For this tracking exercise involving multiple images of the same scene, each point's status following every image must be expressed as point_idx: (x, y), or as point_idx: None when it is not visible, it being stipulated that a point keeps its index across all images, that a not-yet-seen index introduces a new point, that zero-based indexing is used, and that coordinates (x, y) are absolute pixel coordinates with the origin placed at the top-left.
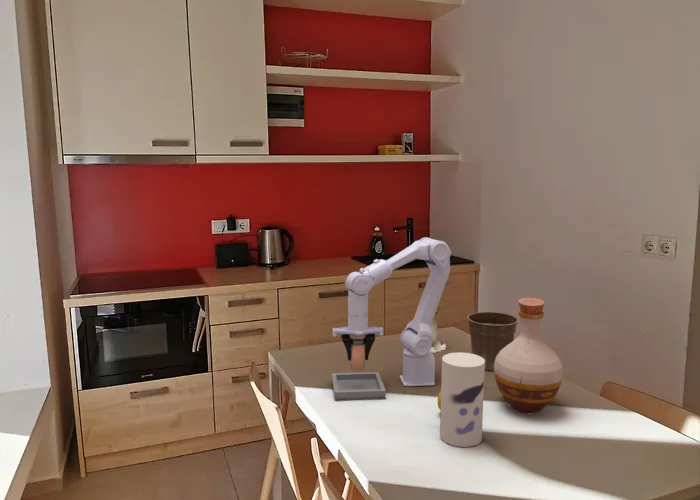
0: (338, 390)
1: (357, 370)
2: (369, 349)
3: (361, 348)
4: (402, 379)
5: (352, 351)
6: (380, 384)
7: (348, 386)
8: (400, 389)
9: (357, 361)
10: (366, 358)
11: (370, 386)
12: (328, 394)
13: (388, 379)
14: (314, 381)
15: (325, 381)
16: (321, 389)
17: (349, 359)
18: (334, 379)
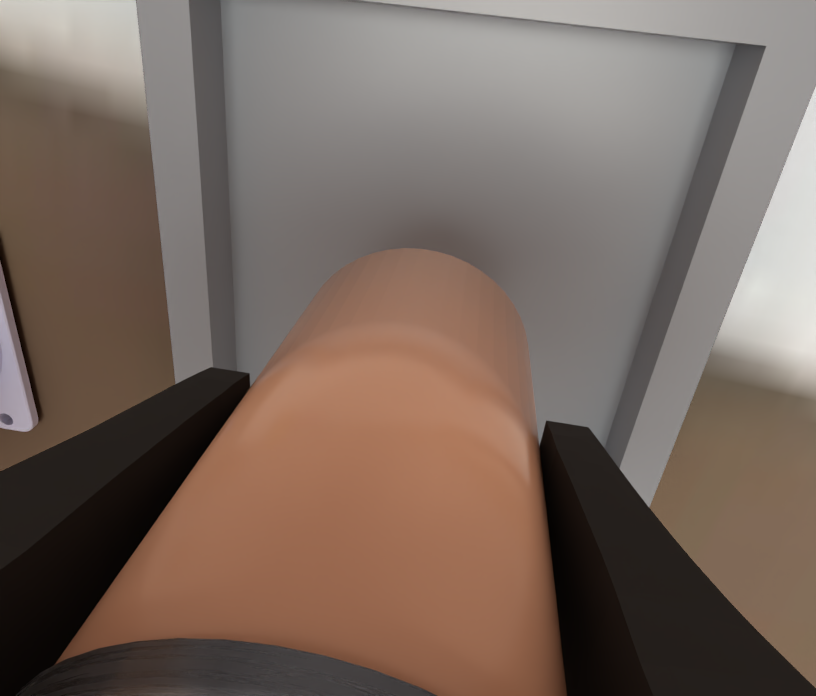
0: (767, 51)
1: (442, 257)
2: (7, 480)
3: (230, 526)
4: (3, 347)
5: (533, 537)
6: (183, 145)
7: (526, 300)
8: (27, 170)
9: (427, 321)
10: (218, 378)
11: (304, 249)
12: (782, 204)
13: (132, 402)
14: (776, 514)
15: (678, 491)
16: (795, 342)
17: (575, 434)
18: (671, 397)
